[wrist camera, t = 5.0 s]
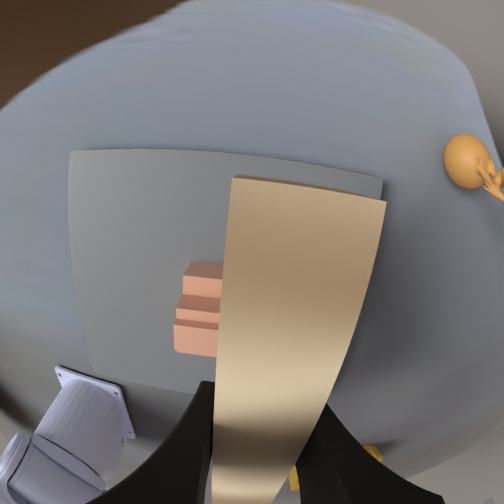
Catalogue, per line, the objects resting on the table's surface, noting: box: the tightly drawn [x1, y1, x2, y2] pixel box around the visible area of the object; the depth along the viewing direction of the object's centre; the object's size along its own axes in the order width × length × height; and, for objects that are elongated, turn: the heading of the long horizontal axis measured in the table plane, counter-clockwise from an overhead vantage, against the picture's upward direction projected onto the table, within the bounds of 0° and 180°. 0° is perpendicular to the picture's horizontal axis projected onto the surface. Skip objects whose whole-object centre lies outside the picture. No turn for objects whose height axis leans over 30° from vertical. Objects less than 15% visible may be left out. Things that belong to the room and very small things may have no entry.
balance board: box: [68, 149, 383, 394], centre depth 15 cm, size 18×20×6 cm
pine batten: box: [212, 174, 387, 504], centre depth 9 cm, size 16×3×4 cm, turn 173°
